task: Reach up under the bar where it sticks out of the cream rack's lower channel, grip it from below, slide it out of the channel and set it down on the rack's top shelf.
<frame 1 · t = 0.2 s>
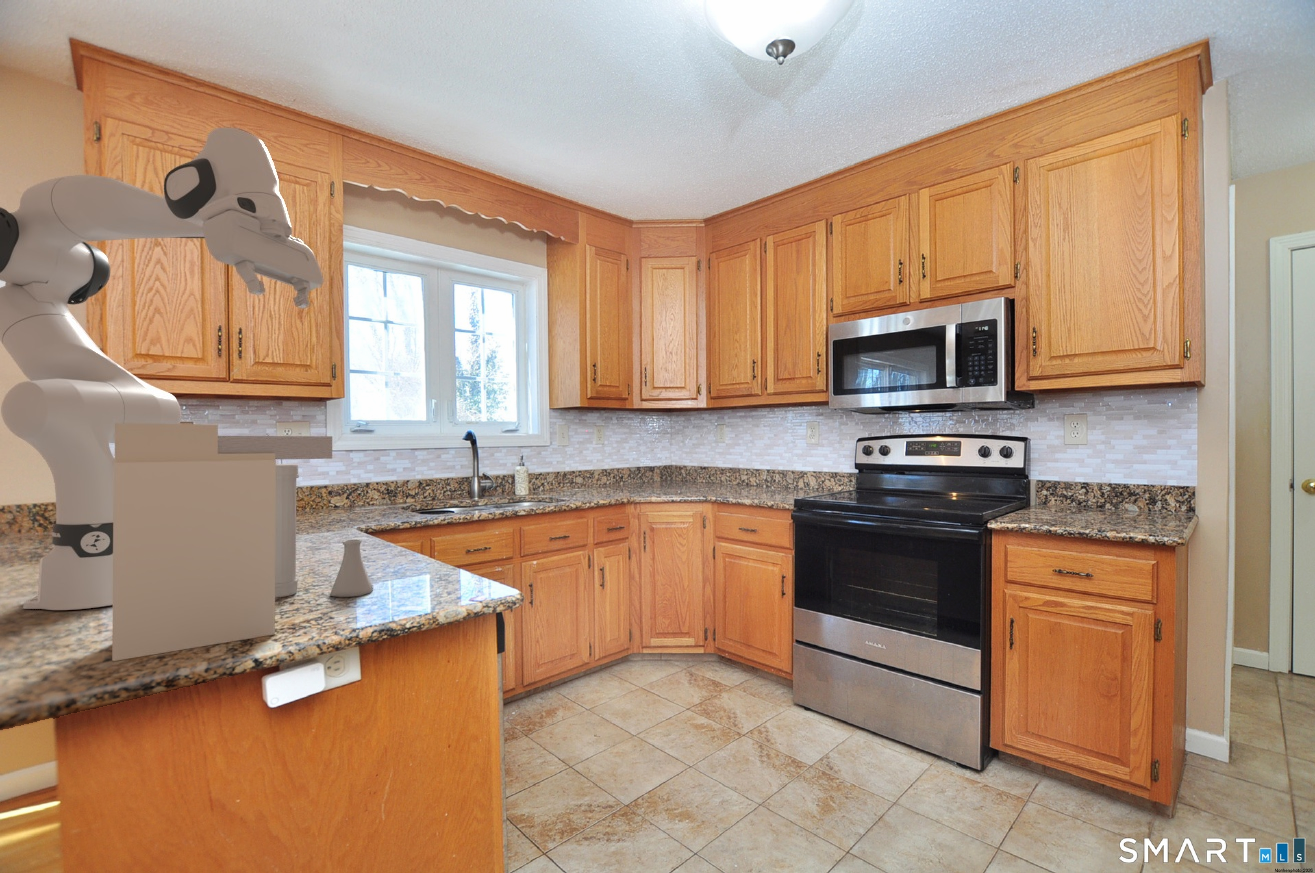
hand: (281, 300, 99), 52 cm above the counter, tool tilted 20°, fingers open, 8 cm apart
flask: (351, 594, 113), on the counter
rack: (198, 637, 88), on the counter
bar: (264, 459, 93), point 26 cm above the counter, touching rack
pipe: (279, 595, 112), on the counter
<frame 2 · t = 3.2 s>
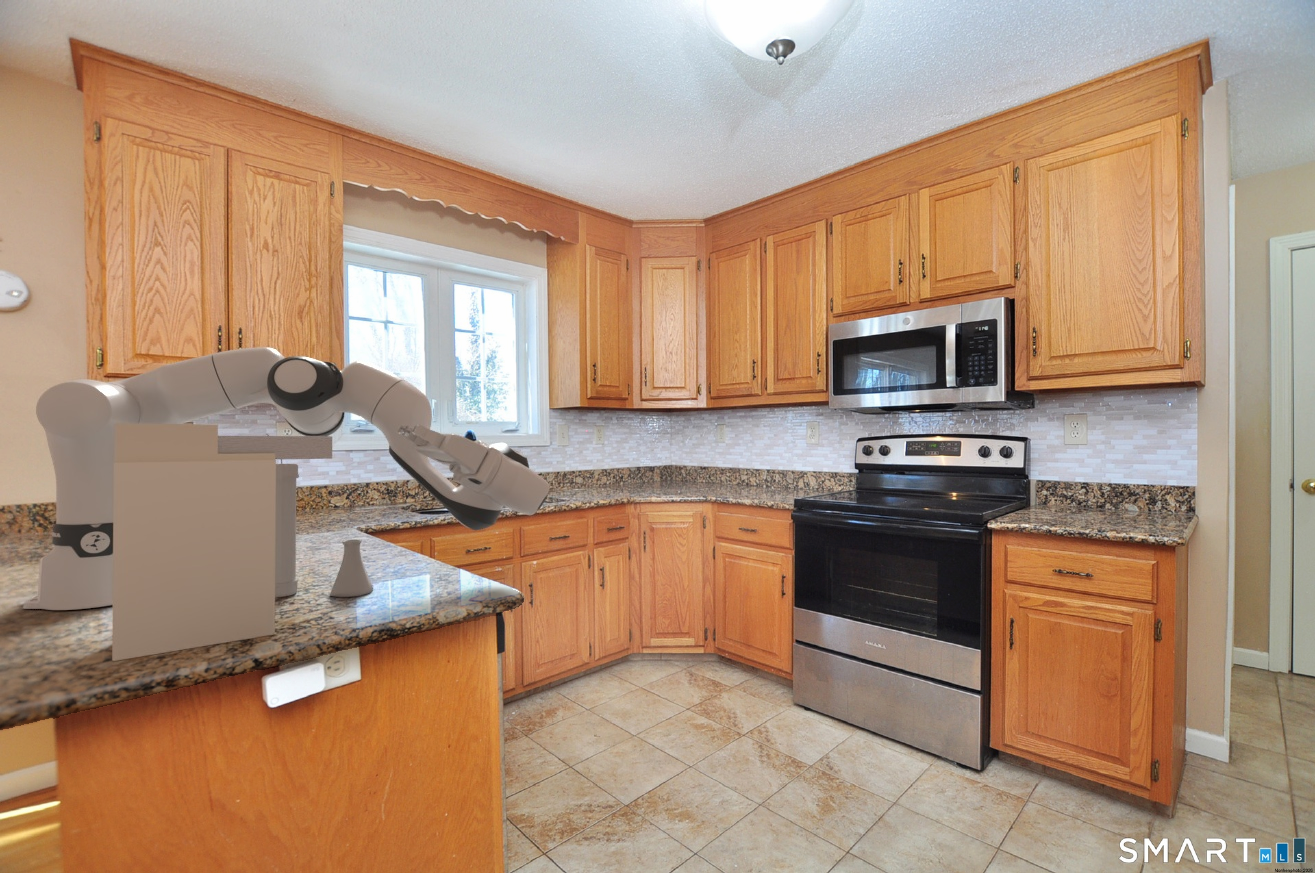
hand: (407, 428, 105), 31 cm above the counter, tool pointing upward, fingers open, 8 cm apart
nothing on the counter moved.
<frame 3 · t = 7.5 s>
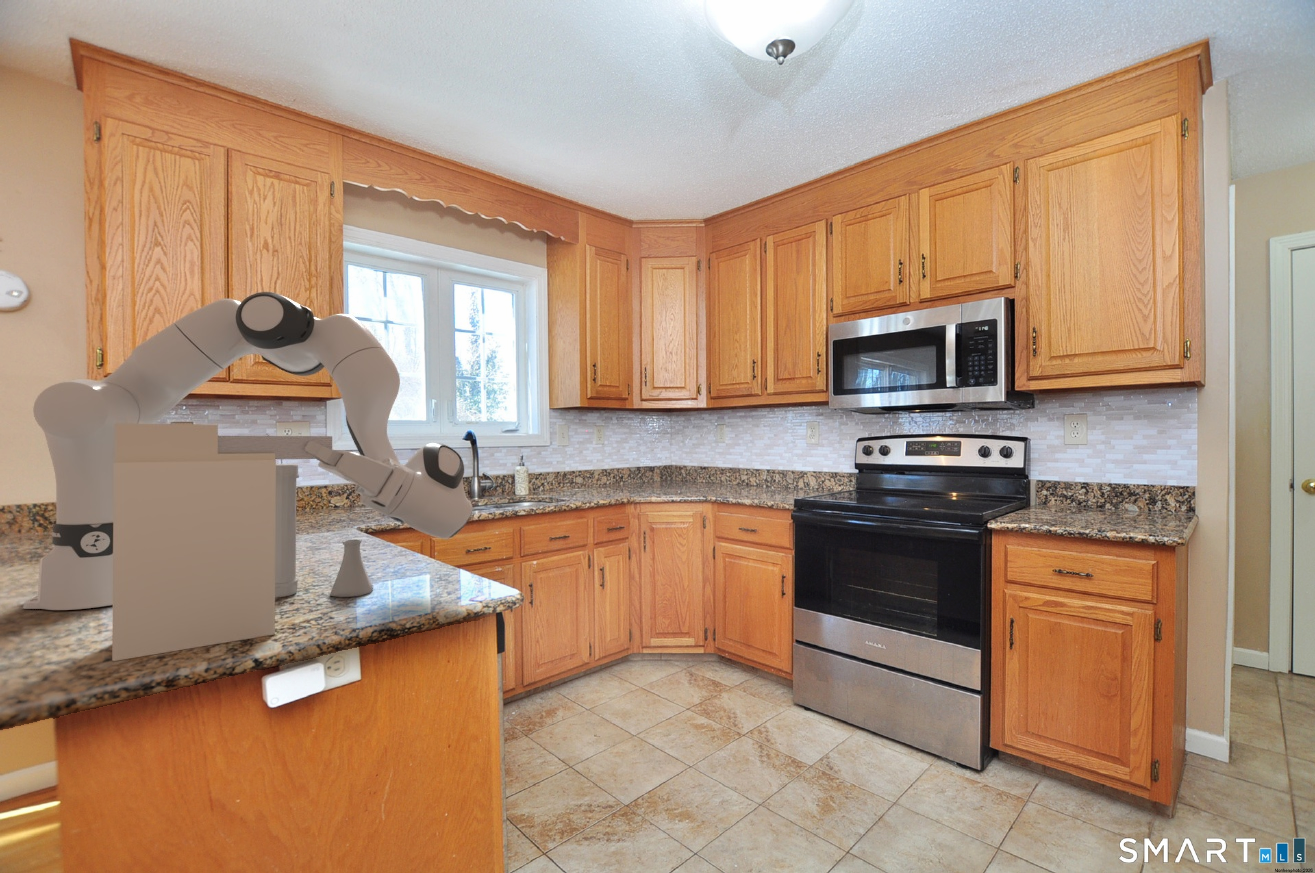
hand: (303, 444, 96), 28 cm above the counter, tool pointing upward, fingers closed on bar, 4 cm apart
bar: (264, 459, 93), point 26 cm above the counter, touching gripper, rack
everything else where it was.
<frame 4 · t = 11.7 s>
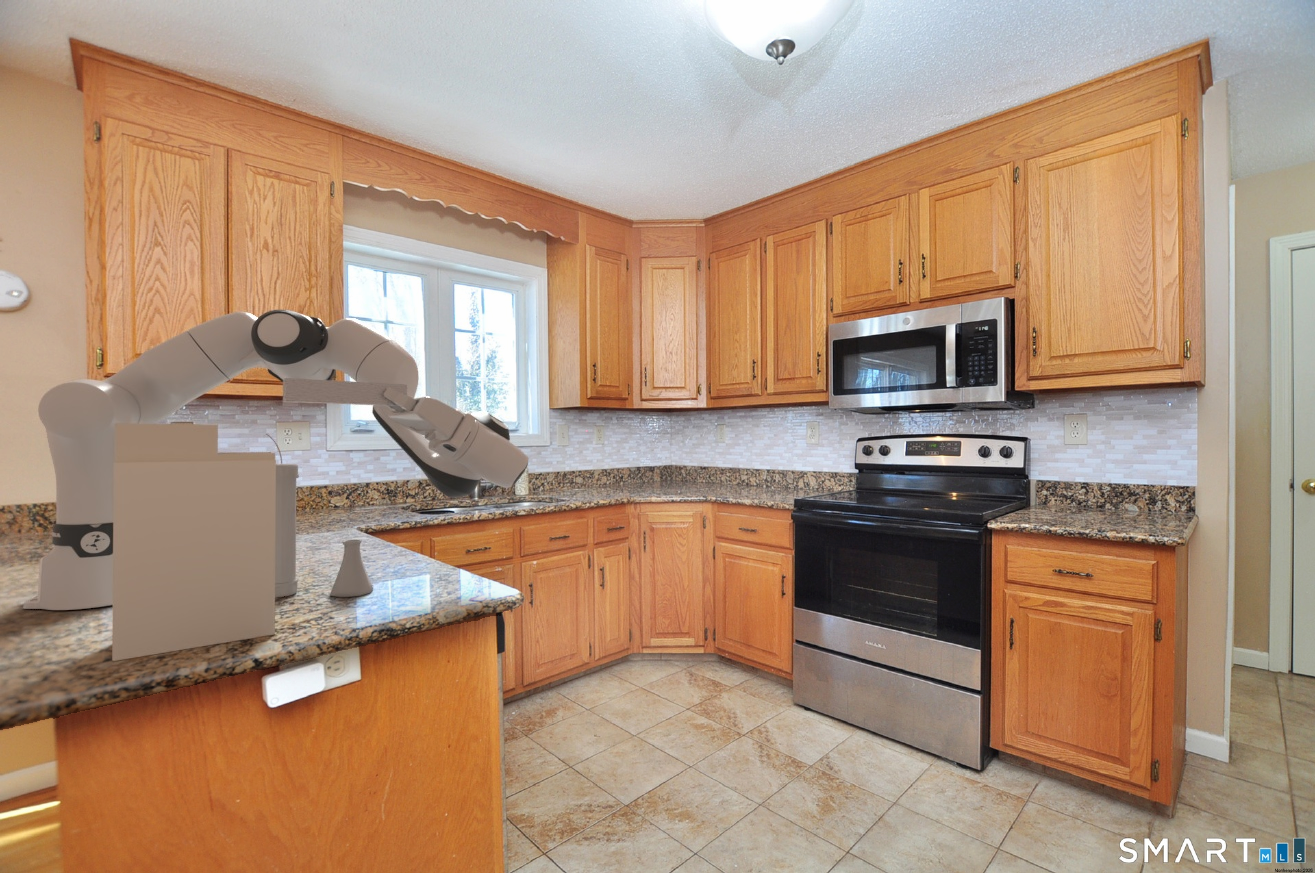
hand: (381, 391, 103), 37 cm above the counter, tool pointing upward, fingers closed on bar, 4 cm apart
bar: (347, 403, 100), point 35 cm above the counter, touching gripper
everything else where it was.
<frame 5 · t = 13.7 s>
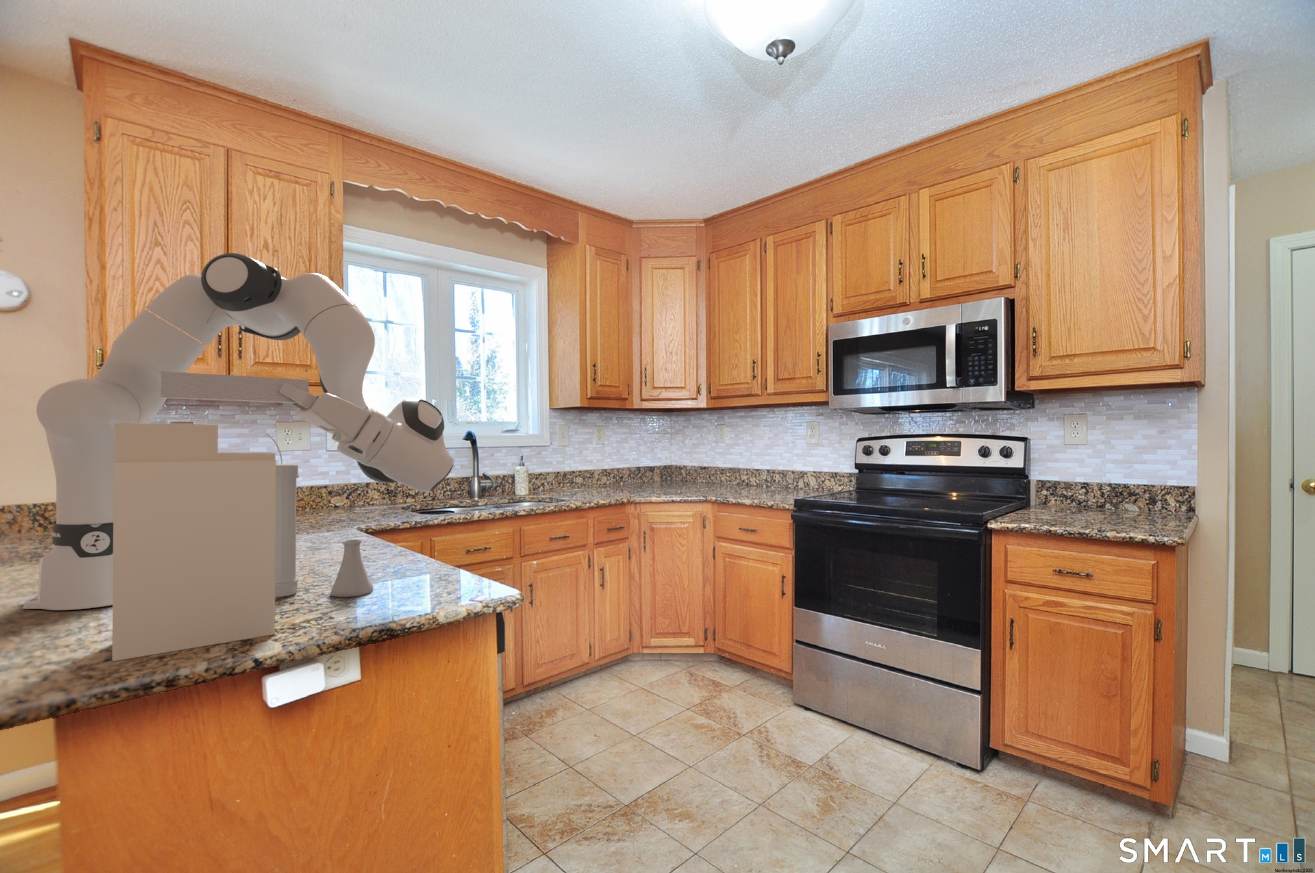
hand: (279, 387, 94), 37 cm above the counter, tool pointing upward, fingers closed on bar, 4 cm apart
bar: (238, 400, 91), point 35 cm above the counter, touching gripper
everything else where it was.
when the fingers open (34 cm above the counter, at t = 15.8 s): bar stays where it is, resting on rack.
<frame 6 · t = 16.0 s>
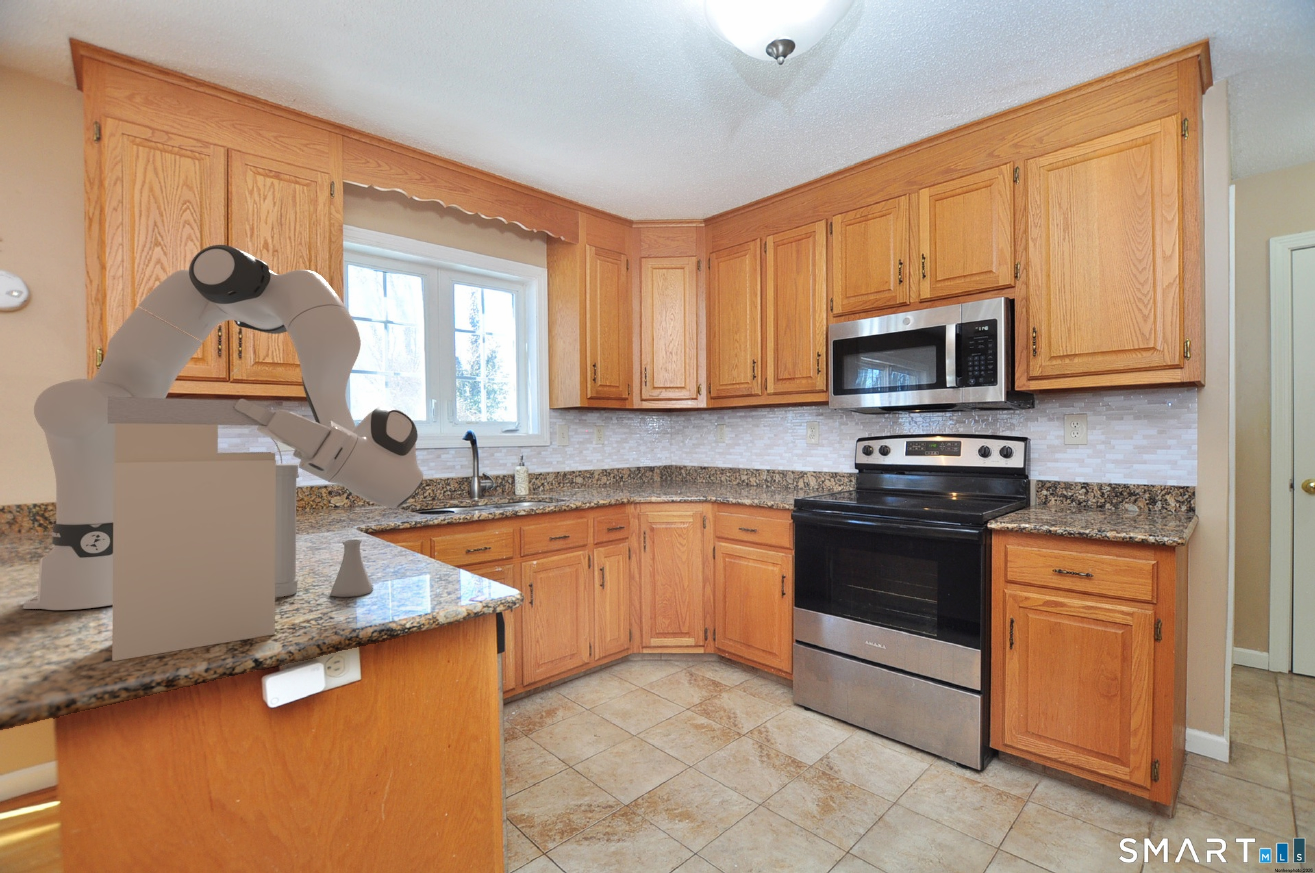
hand: (235, 403, 91), 34 cm above the counter, tool pointing upward, fingers open, 5 cm apart
bar: (192, 424, 87), point 31 cm above the counter, touching rack
everything else where it was.
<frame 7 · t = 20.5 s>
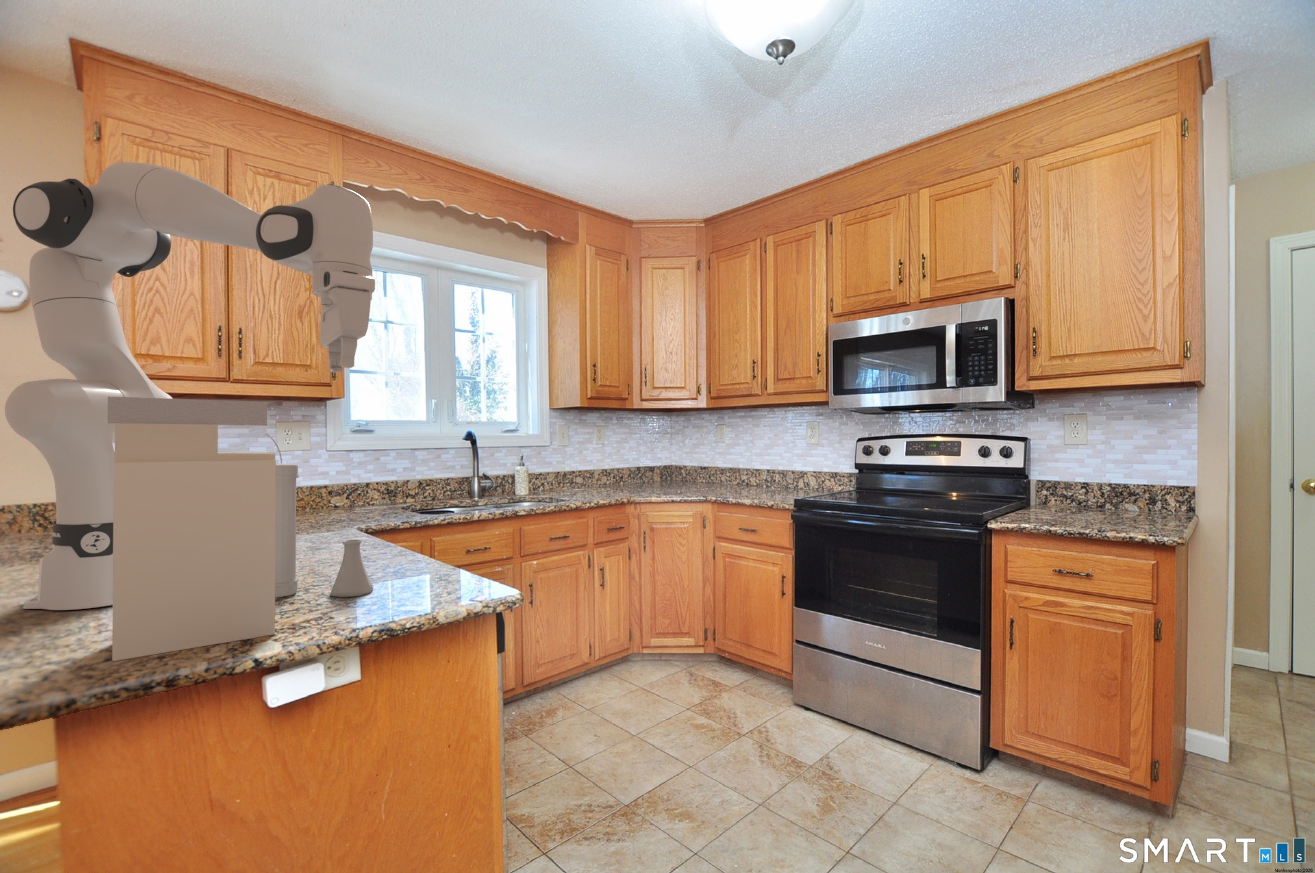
hand: (341, 369, 100), 41 cm above the counter, tool pointing down, fingers open, 8 cm apart
nothing on the counter moved.
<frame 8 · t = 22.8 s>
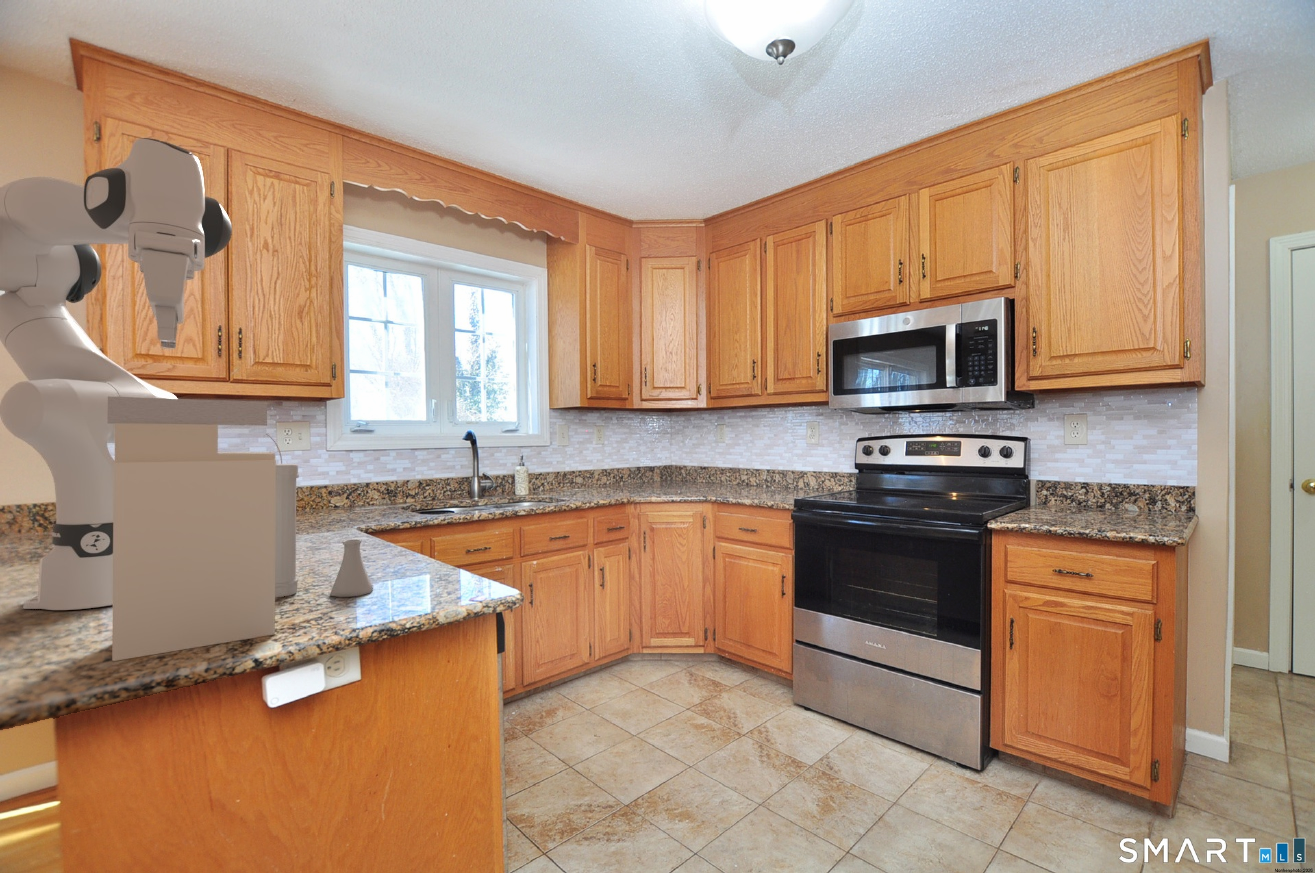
hand: (167, 344, 89), 43 cm above the counter, tool pointing down, fingers open, 8 cm apart
nothing on the counter moved.
at the end: bar inside the target area (1.1 cm from its centre), point 31.2 cm above the counter; the gripper is holding nothing; bar moved 10.3 cm from its start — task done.
